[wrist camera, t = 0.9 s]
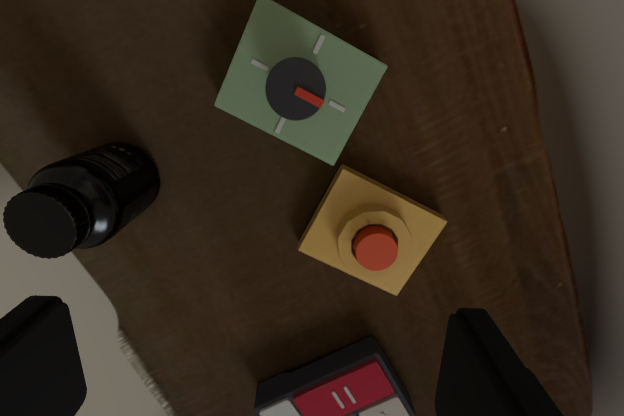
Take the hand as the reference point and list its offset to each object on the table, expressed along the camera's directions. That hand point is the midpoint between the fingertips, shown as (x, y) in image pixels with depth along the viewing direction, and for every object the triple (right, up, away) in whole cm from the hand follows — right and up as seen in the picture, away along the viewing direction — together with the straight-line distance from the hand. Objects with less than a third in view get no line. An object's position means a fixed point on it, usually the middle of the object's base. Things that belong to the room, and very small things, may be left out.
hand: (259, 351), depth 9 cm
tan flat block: (+7, +2, +28) cm, 29 cm away
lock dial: (0, +13, +21) cm, 25 cm away
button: (+7, 0, +25) cm, 26 cm away
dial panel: (0, +14, +24) cm, 28 cm away
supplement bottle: (-16, +7, +27) cm, 32 cm away
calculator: (+4, -18, +36) cm, 40 cm away
